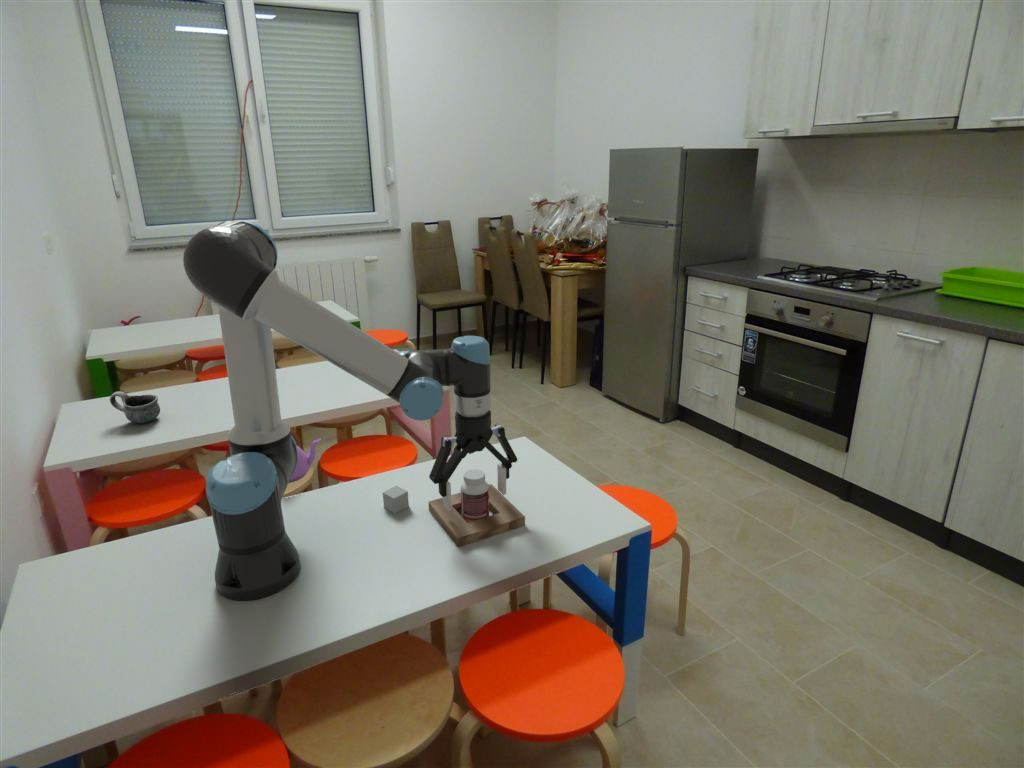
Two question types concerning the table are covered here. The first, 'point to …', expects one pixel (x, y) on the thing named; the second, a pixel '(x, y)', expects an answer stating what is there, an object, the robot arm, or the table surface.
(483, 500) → the pill bottle
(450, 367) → the robot arm
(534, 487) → the table surface
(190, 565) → the table surface
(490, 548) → the table surface
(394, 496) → the grey eraser block
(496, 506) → the socket board
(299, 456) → the teapot
